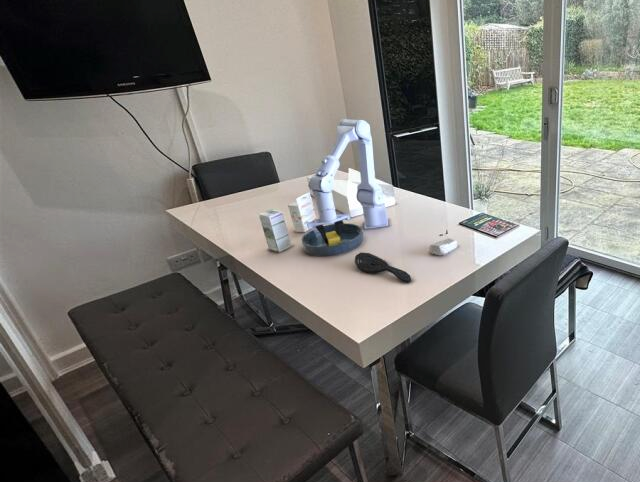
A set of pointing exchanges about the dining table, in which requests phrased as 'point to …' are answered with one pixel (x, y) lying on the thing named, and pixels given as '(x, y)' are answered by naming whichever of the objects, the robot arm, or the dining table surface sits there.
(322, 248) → the bowl
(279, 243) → the syrup box
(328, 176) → the robot arm
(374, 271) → the hairbrush
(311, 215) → the ink cartridge box
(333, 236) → the sponge
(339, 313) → the dining table surface
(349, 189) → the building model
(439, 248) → the soap bar
